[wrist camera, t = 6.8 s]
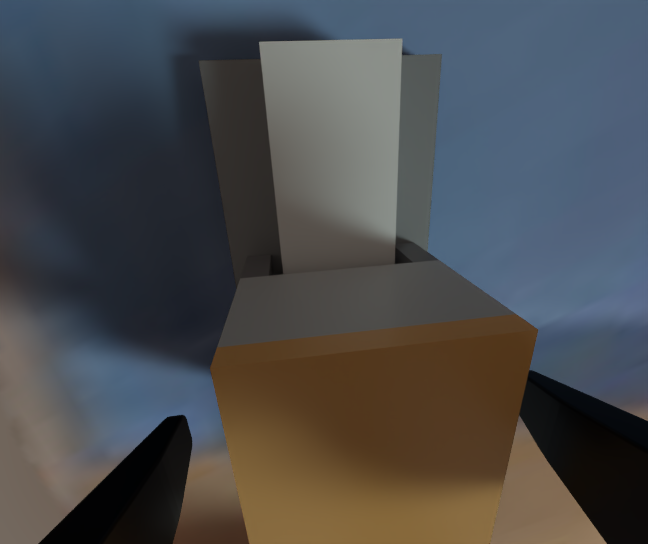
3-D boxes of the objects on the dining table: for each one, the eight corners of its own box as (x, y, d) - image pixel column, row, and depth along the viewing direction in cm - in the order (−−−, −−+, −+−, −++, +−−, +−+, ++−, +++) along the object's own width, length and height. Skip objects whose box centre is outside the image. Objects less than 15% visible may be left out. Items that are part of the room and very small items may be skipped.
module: (405, 386, 14) (489, 546, 8) (269, 403, 13) (259, 588, 8) (413, 242, 11) (538, 330, 6) (247, 256, 11) (210, 368, 5)
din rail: (404, 458, 17) (423, 507, 14) (271, 478, 16) (269, 532, 14) (427, 63, 10) (469, 37, 8) (206, 69, 10) (182, 43, 7)
